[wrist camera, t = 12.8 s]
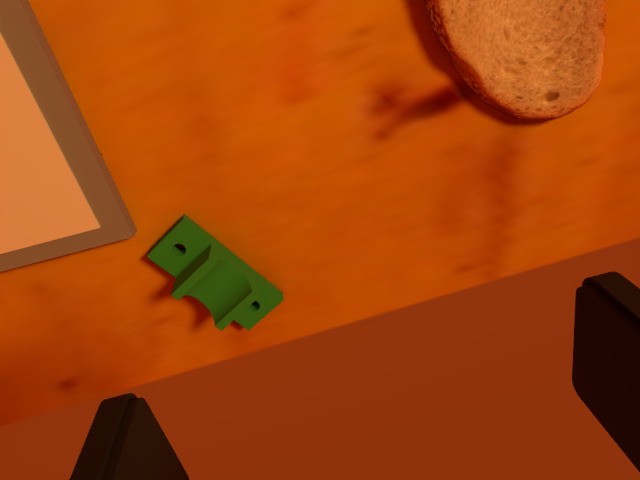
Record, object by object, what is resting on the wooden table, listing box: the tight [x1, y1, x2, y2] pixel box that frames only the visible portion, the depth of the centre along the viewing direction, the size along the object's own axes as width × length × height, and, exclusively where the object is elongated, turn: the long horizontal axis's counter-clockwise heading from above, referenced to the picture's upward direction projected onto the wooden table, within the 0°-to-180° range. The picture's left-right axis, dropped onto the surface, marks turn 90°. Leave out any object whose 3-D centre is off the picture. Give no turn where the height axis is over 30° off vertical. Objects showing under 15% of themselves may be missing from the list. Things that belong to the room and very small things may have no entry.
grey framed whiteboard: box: [0, 0, 137, 272], centre depth 33 cm, size 18×12×1 cm, turn 13°
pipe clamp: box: [146, 214, 284, 331], centre depth 39 cm, size 11×4×5 cm
